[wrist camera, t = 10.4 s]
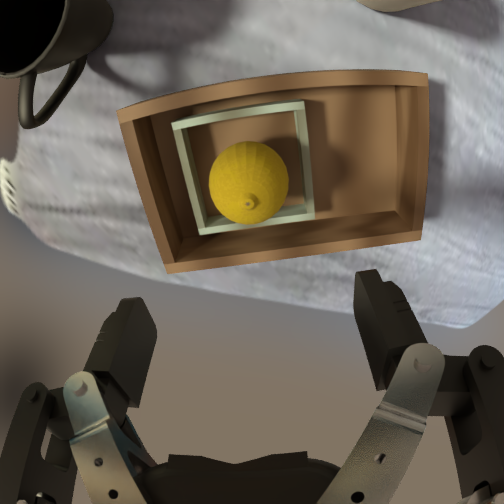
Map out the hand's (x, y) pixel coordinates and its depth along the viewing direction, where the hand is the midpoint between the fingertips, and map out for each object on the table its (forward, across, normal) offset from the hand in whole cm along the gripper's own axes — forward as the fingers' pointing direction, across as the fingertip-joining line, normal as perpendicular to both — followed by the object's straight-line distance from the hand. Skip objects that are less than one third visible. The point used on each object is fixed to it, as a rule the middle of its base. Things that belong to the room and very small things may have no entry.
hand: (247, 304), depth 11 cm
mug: (+17, +12, -14) cm, 26 cm away
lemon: (+16, 0, 0) cm, 17 cm away
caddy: (+17, -3, 0) cm, 18 cm away
